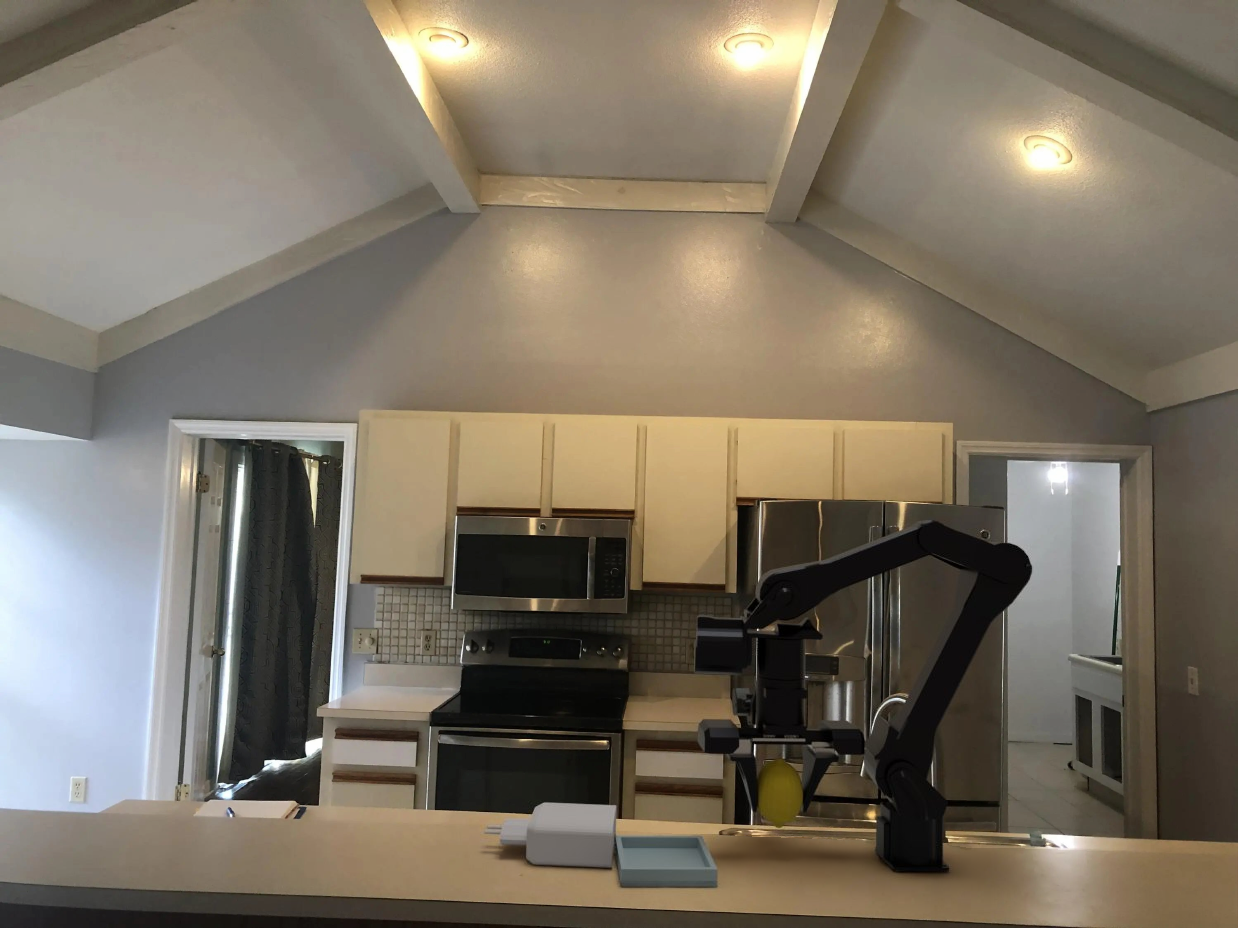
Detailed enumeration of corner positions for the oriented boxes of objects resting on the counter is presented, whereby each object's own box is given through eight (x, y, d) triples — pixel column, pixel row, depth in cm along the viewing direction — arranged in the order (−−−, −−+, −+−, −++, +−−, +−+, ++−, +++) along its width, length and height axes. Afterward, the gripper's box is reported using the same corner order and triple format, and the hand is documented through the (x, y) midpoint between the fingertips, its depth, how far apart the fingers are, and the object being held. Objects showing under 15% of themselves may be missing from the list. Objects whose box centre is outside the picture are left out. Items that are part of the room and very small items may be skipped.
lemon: (800, 821, 107) (800, 753, 107) (804, 837, 101) (805, 765, 102) (753, 818, 107) (754, 750, 108) (755, 834, 102) (756, 762, 103)
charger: (492, 837, 108) (616, 842, 108) (477, 865, 99) (612, 871, 98) (493, 796, 109) (617, 801, 108) (478, 822, 99) (613, 827, 99)
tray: (701, 851, 105) (702, 835, 105) (717, 886, 95) (717, 869, 95) (614, 851, 104) (615, 835, 104) (620, 886, 94) (621, 869, 94)
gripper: (836, 666, 114) (835, 791, 113) (692, 664, 113) (689, 790, 112) (866, 681, 103) (865, 820, 102) (706, 679, 102) (704, 819, 101)
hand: (778, 811), depth 105 cm, fingers closed on lemon, 5 cm apart
